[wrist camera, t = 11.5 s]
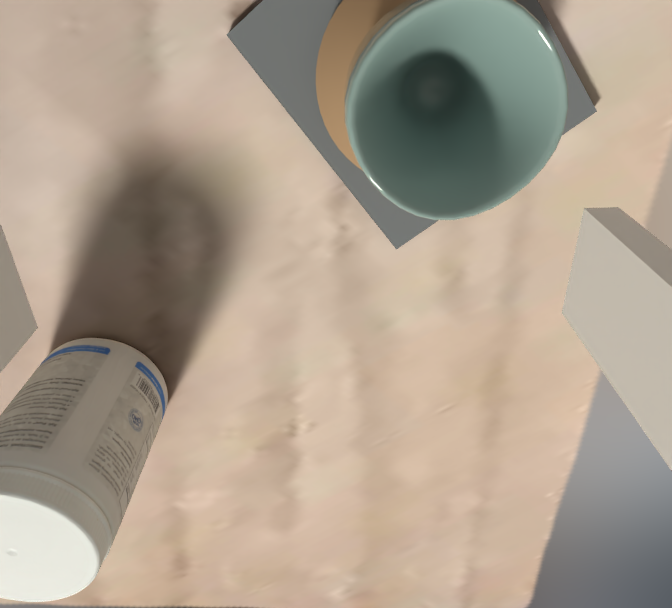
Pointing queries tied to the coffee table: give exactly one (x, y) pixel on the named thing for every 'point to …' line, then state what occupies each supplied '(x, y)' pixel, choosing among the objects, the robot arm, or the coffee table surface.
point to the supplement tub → (73, 464)
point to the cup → (454, 104)
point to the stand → (329, 80)
